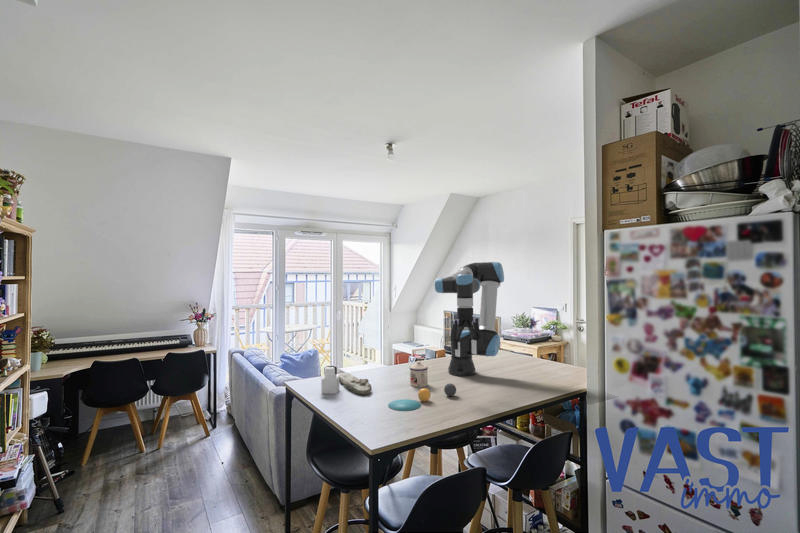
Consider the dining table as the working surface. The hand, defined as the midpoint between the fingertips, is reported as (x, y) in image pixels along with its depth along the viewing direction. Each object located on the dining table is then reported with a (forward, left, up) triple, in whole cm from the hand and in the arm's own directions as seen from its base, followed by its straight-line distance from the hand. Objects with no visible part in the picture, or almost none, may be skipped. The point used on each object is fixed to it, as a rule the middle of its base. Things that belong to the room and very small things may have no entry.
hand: (466, 355), depth 182 cm
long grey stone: (+42, -38, -18) cm, 59 cm away
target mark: (+34, 0, -17) cm, 38 cm away
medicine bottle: (+55, -35, -18) cm, 67 cm away
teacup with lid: (+13, -21, -18) cm, 30 cm away
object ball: (+24, 0, -15) cm, 28 cm away
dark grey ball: (+10, 0, -15) cm, 18 cm away
